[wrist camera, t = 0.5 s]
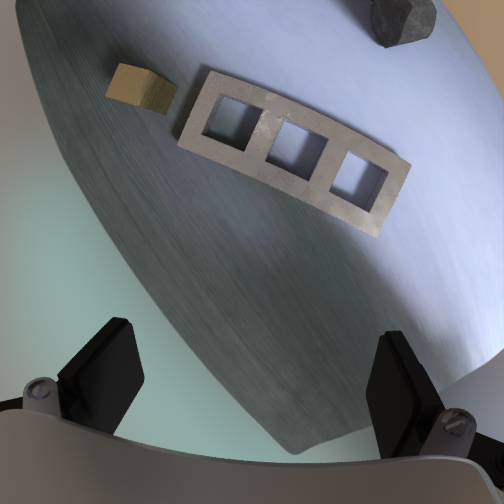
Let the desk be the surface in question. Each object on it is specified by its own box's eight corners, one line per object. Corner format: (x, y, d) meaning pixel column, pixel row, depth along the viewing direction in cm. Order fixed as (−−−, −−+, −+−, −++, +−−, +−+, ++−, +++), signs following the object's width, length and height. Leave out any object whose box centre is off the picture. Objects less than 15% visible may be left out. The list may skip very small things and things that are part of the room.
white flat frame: (183, 146, 36) (176, 145, 33) (215, 75, 33) (210, 70, 30) (370, 233, 36) (376, 238, 34) (404, 164, 33) (411, 164, 31)
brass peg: (141, 107, 35) (105, 96, 26) (152, 80, 34) (119, 62, 25) (165, 115, 35) (133, 104, 26) (178, 87, 34) (148, 69, 25)
